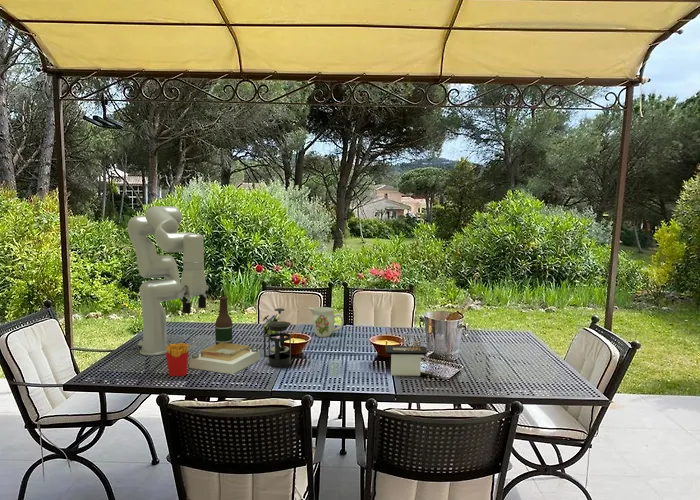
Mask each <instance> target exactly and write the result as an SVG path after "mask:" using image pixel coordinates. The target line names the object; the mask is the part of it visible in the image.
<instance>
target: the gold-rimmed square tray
mask: <svg viewBox="0 0 700 500" xmlns="http://www.w3.org/2000/svg"><path fill="white" fill-rule="evenodd" d="M232 343H233V342H232ZM232 343H225V342H220V343H218V344H216V343H215V344H214V345H211V346H209V347H206V348H204V349H202V350H200V353H199V354H198V353H194V354H191V357H189V368H190V369H194V370H200V371H206V372H207V371H208V372H215V373H221V374H226V375H227V374H228V375H235V374H236V373H239V372H240V371H242V370H243V369H246V368H248V367H249V366H251V365H252V364H254V363H257V362H259V361H260V360H261V350H259V347H252V348H251V347H250V345H246V344H239V343H233V344H232Z"/></svg>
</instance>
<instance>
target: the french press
mask: <svg viewBox="0 0 700 500" xmlns="http://www.w3.org/2000/svg"><path fill="white" fill-rule="evenodd" d="M284 311H285V308H275V309H274V312H277V315H278V316H279V318H278V319H279V320H278V321H276V322H271V323H269V324H268V325H269V326H270V330H271V331H278V332H277V333H273V334H272V333H271V334H270V335H268V334H265V335H264V336H263V356H264V358H268V363H267V364H268V366H269V367H271V368H275V369H277V368H278V369H281V368H287V367H290V366H291V365H292V361H291V360H292V359H291V358H292V350H291V349H292V347H291V346H292V345H291V344H292V343H291V342H292V340H291V339H292V337H291V334H290V333H287V332H285V331H286V330H287V329H288V328H289V326H291V325H292V323H291V322H289V321H285V320H282V321H281V313H282V312H284ZM280 331H281V332H280ZM277 337H279V338H277ZM267 338H268V354H267V352H266V351H267V346H266V345H267V342H266V339H267ZM287 341H288V342H289V345H288V346H285V342H287ZM271 342H274V346H272V347H271ZM271 353H272V354H271Z"/></svg>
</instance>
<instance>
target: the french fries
mask: <svg viewBox="0 0 700 500" xmlns="http://www.w3.org/2000/svg"><path fill="white" fill-rule="evenodd" d="M189 347H190V344H188V343H185V342H178V343H170V344H167V352H166V353H165V356H166V363H167V372H168V376H170V377H184V376H186V375H187V374H188V363H189Z"/></svg>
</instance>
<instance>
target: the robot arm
mask: <svg viewBox="0 0 700 500" xmlns="http://www.w3.org/2000/svg"><path fill="white" fill-rule="evenodd" d="M182 220H183V215H182V212H181V210H180V208H178V207H176V206H172V205H171V206H170V205H168V206H166V205H164V206H163V205H162V206H161V205H160V206H159V205H157V206H151V207H149V208H148V209H147V210H146V211H145V213H144V215H137V216H133V217H131V218H130V219H129V220H128V222H127V234H128V237H129V239H130V242H131V243H132V245H133V247H134V251H135V256H136V261H137V267H138V271H139V274H140V276H141V277H142V278H144V279H153V280H147V281H145V282H142V283H141V285H140V286H139V296H140V301H141V306H142V307H141V309H142V311H141V312H142V331H143V333H142V334H143V338H142V339H143V340H142V339H141V340H139V342H138V343H137V346H139V347H141V349H140V350H139V353H140V355H142V356H149V357H150V356H161V355H166V352H167V345H168V343H167V341H168V337H167V335H168V334H167V310H166V309H165V307H164V306H163V305H162V304H161V302H166V301H174V300H178V299H180V301H181V303H182V313H183V314H191V313H192V311H191V310H192V307H191V302H190V301H191V299H192V298H195V297H197V296H198V298H197V301H198V302H197V304H198V309H207V297H208V296H207V295H208V292H209V288H210V287H209V285H208V284H207V283H206V273H205V260H204V259H205V256H204V254H205V253H204V250H205V247H204V236H203V234H200V233H194V232H192V231H191V232H187V231H186V232H177V231H178V228H179V226H180V224H181V222H182ZM148 236H154V239H155V243H156V245H157V246H158V247H159V249H161V250H162V251H163V252H166V253H170V254H171V253H183V254H182V260H183V261H182V262H183V263H182V265H183V270H182V273H181V278H180V273H179V268H178V265H177V261H176V260H175V258H174V257H173V256H171V255H167V254H166V255H159V254H158V253H157V249H156V247H157V246H156V245H155V243H154V242H153V241H152V240H151V239H150V238H149V237H148ZM155 278H156V279H155ZM157 278H163V279H157Z"/></svg>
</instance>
